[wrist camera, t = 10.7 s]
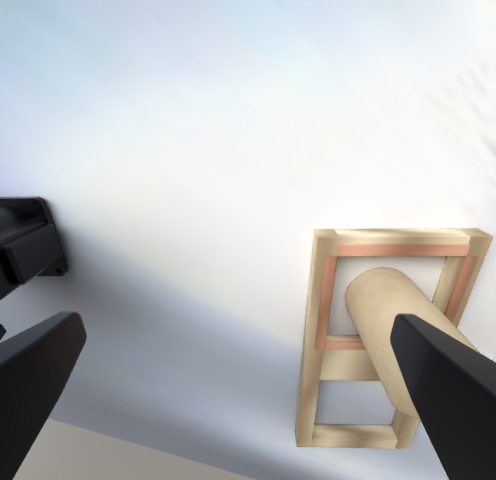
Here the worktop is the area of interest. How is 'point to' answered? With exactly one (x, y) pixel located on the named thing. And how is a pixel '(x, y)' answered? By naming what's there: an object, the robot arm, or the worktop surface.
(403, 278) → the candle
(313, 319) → the rail frame
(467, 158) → the worktop surface
